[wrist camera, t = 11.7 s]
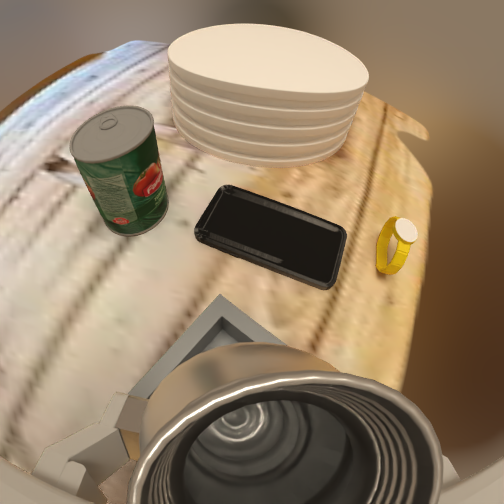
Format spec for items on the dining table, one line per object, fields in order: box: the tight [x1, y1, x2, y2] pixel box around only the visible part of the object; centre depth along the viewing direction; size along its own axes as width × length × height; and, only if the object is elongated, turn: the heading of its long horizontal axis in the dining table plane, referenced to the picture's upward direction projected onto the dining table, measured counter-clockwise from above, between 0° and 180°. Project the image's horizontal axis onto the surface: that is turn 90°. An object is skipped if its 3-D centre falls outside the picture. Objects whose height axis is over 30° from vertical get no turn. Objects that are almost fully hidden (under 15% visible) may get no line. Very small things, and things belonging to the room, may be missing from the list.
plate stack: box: [168, 24, 369, 168], centre depth 37 cm, size 28×28×12 cm
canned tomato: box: [70, 106, 169, 236], centre depth 25 cm, size 8×8×11 cm
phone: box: [194, 185, 347, 290], centre depth 30 cm, size 8×1×15 cm
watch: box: [376, 216, 418, 275], centre depth 27 cm, size 6×3×6 cm, turn 166°
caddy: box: [128, 294, 287, 399], centre depth 19 cm, size 13×12×5 cm
